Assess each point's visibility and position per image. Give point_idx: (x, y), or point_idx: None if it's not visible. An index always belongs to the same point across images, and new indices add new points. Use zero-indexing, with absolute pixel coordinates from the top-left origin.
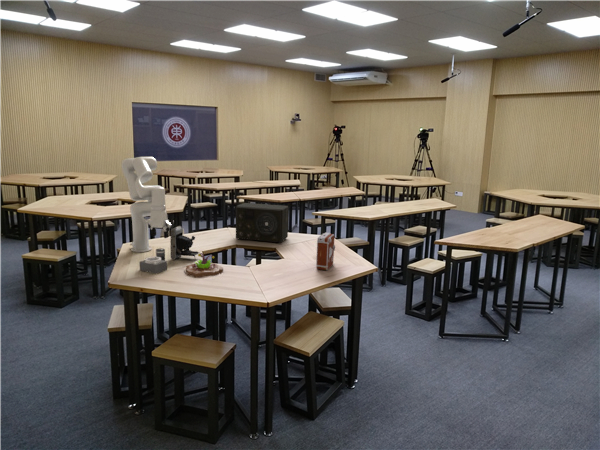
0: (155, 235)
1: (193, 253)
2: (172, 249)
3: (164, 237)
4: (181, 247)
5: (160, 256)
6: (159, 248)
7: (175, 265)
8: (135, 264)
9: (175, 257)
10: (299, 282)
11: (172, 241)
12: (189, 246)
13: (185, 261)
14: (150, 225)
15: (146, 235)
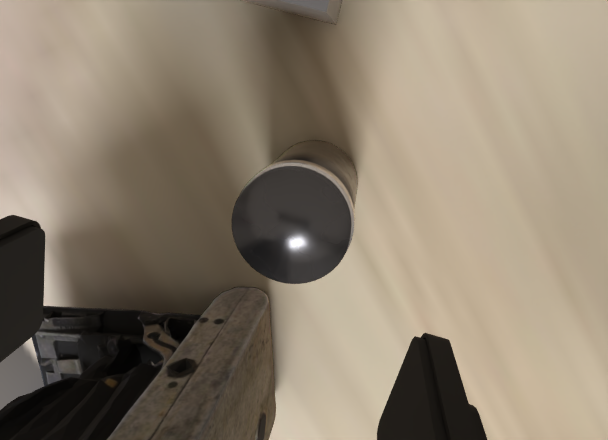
0: (385, 409)
1: (67, 368)
2: (219, 346)
3: (15, 219)
4: (122, 384)
5: (277, 159)
6: (326, 270)
7: (130, 128)
8: (551, 24)
9: (217, 297)
10: None
11: (173, 419)
12: (24, 396)
13: (123, 265)
14: None
15: None
